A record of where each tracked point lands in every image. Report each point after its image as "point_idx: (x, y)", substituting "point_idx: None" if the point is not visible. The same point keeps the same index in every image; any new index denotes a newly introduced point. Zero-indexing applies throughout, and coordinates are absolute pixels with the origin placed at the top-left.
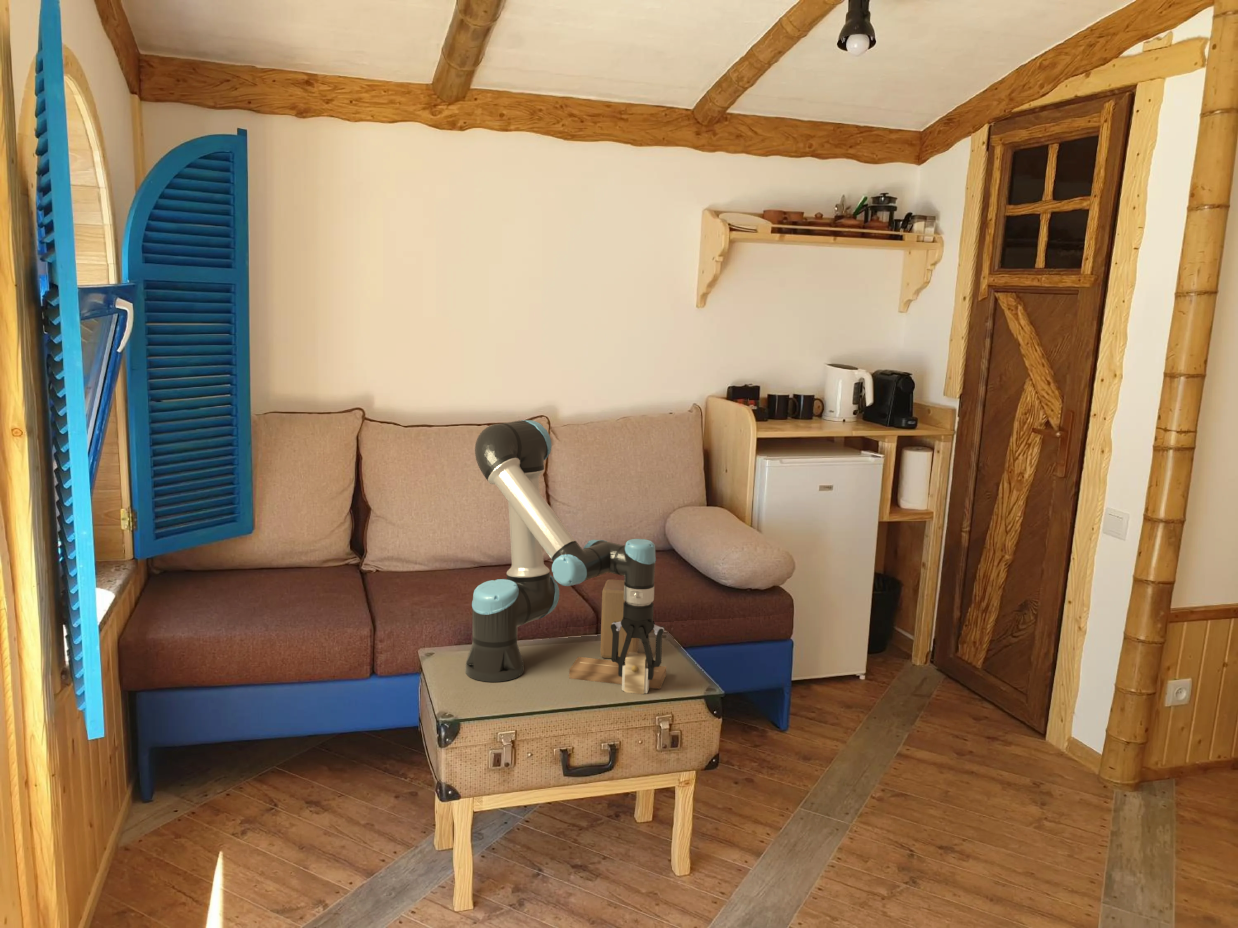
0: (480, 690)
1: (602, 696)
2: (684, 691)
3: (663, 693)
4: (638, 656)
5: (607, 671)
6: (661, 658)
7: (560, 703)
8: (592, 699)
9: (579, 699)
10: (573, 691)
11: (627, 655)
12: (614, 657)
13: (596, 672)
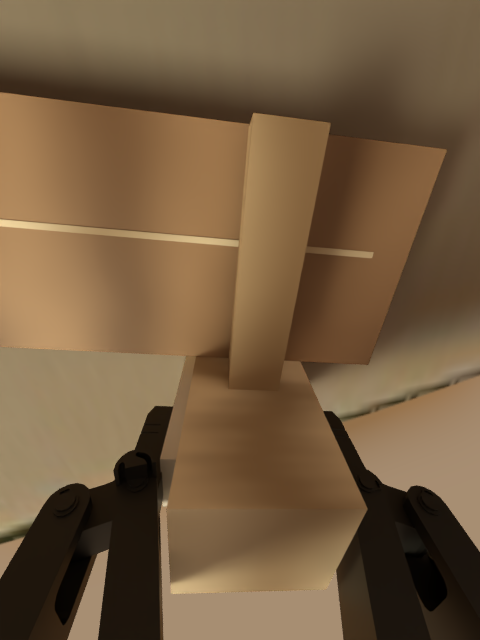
0: None
1: (129, 439)
2: (444, 343)
3: (354, 376)
4: (272, 559)
5: (62, 324)
6: (463, 533)
7: (18, 500)
8: (104, 462)
9: (61, 470)
10: (5, 427)
11: (174, 560)
12: (76, 571)
13: (6, 346)
